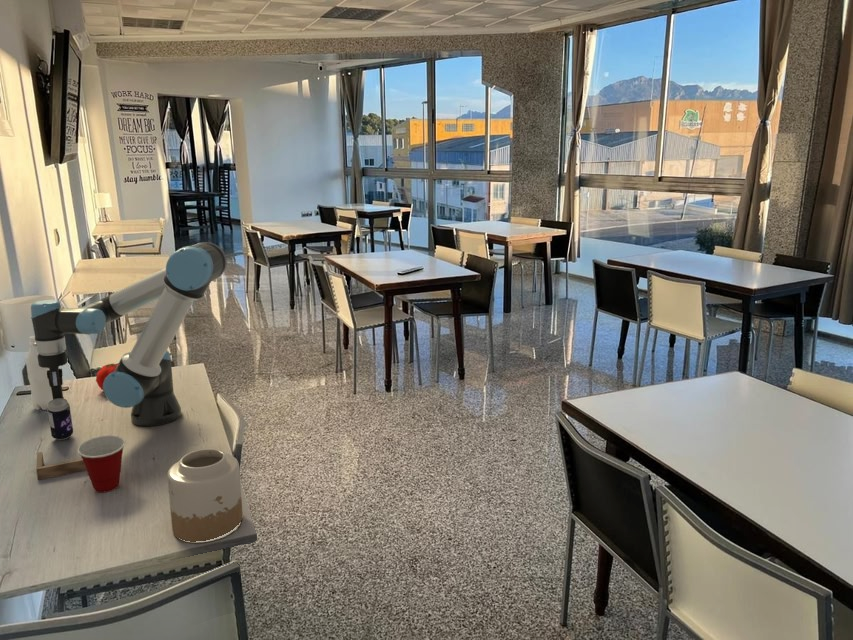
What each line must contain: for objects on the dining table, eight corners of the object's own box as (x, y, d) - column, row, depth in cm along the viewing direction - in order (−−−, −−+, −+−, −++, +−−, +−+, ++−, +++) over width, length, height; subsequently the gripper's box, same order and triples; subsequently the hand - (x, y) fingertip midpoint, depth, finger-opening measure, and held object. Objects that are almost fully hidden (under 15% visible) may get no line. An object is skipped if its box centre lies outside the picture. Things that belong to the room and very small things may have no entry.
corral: (89, 452, 174) (88, 443, 174) (91, 468, 165) (90, 458, 164) (38, 462, 168) (37, 452, 167) (37, 479, 159) (36, 469, 158)
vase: (165, 519, 142) (158, 453, 138) (230, 500, 150) (226, 437, 146) (182, 552, 130) (175, 481, 126) (252, 529, 138) (248, 462, 134)
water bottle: (61, 406, 208) (51, 336, 202) (39, 413, 202) (28, 340, 196) (50, 402, 212) (40, 332, 206) (28, 408, 206) (17, 337, 200)
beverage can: (64, 443, 181) (59, 410, 175) (47, 438, 182) (41, 405, 176) (77, 432, 186) (73, 400, 180) (61, 427, 187) (56, 395, 181)
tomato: (140, 386, 228) (137, 360, 226) (110, 397, 217) (107, 370, 214) (119, 382, 232) (116, 356, 230) (89, 392, 221) (85, 365, 219)
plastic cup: (82, 502, 149) (76, 457, 146) (83, 482, 158) (77, 440, 155) (131, 492, 154) (126, 448, 151) (129, 473, 163) (124, 432, 160)
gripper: (37, 348, 185) (48, 420, 190) (36, 359, 174) (47, 435, 179) (66, 345, 188) (75, 416, 194) (66, 356, 178) (76, 430, 183)
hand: (62, 425), depth 187 cm, fingers closed
